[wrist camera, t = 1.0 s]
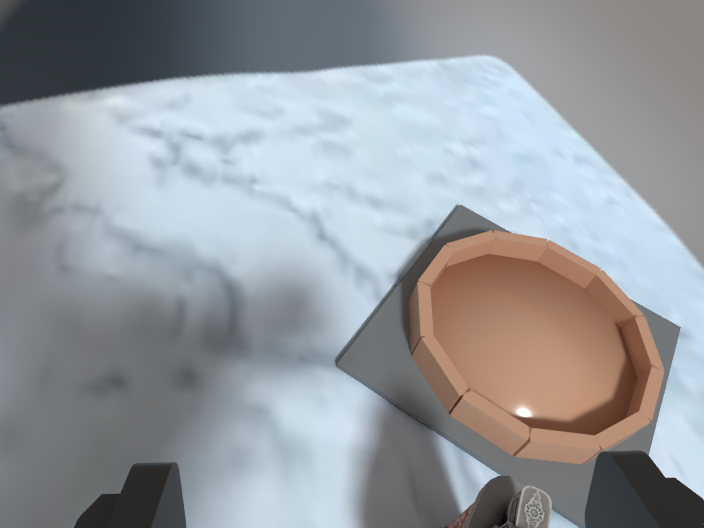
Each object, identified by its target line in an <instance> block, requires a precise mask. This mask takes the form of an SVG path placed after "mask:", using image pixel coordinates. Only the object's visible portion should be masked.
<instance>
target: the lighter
mask: <svg viewBox="0 0 704 528" xmlns="http://www.w3.org/2000/svg"><path fill="white" fill-rule="evenodd" d="M551 509H552V502H551V499H550V497H549V495H548V494H547V493H546V492H544V491H542V490H541V489H538V488H536V487H533V486H530V485H528V484H527V483H525V482H524V481H522V480H520V479H518V478H515V477H511V476H498V477H496V478H493V479H491V480H490V481H489V482H488V483H487V484H486V485H485V486H484V487H483V488H482V489H481V491H480V492H479V494H478V496H477V498H476V500H475V502H474V503H473V504H472V505H471V506H470V507H469V508H468V509H466V510H465V511H464V512H463V513H462V514H461V515H460V516H459V517H458V518H457V519H456V520H455V521H454V522H452V523H451V524H447V525H445V526H443V527H441V528H549V525H550V517H551Z"/></svg>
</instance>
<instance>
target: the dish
mask: <svg viewBox="0 0 704 528" xmlns="http://www.w3.org/2000/svg"><path fill="white" fill-rule="evenodd" d="M600 269H601V268H599V267H597V266H595V265H594V264H592V263H590V262H588V261H586V260H584V259H583V258H581V257H579V256H577V255H575V254H574V253H572V252H570V251H568V250H566V249H565V248H563V247H561V246H559V245H557V244H556V243H554V242H552V241H550V240H549V241H548V242H547V239H543V238H537V237H531V236H525V235H519V234H513V233H507V232H501V231H495V230H494V231H493V232H492V230H491V231H488V232H484V233H481V234H477V235H474V236H470V237H467V238H464V239H460V240H457V241H453V242H450V243H447V244H446V245H444V246H443V248H442V249H441V250H440V252H439V253H438V254H437V256H436V257H435V258H434V260H433V261H432V262H431V264H430V265H429V266H428V268H427V269H426V270H425V272H424V273H423V274H422V276H421V277H420V278H419V280H418V282H417V284H416V286H415V288H414V291H413V293H412V295H411V297H410V299H409V319H410V345H411V354H413V355H412V358H413V359H414V361H415V363H416V364H417V366H418V367H419V369H420V370H421V372H422V374H423V375H424V377H425V378H426V380H427V381H428V383H429V385H430V386H431V388H432V389H433V391H434V393H435V394H436V396H437V397H438V399H439V400H440V402H441V404H442V405H443V407H444V408H445V410H446V412H447V413H448V412H450V411H451V414H450V416H452V417H453V418H455V419H456V420H458V421H459V422H461V423H462V424H464V425H466V426H467V427H469V428H470V429H472V430H473V431H475V432H476V433H478V434H479V435H481V436H482V437H484V438H485V439H487V440H489V441H490V442H492V443H493V444H495V445H496V446H498V447H499V448H501V449H502V450H504V451H505V452H507V453H508V454H510V455H513V454H514V455H515V457H521V458H530V459H538V460H547V461H555V462H564V463H573V464H583V463H584V464H585V463H587V462H588V461H590V460H592V459H594V458H595V457H597V456H598V454H599V453H600V452H602V451H608V450H609V449H611V448H613V447H615V446H616V445H618V444H620V443H621V442H623V441H625V440H627V439H628V438H630V437H632V436H633V435H634V434H636V433H637V432H638V431H640V430H641V429H642V428H644V427H645V426H646V425H648V424H649V423H650V422H651V421H652V418H653V414H654V411H655V407H656V403H657V399H658V395H659V391H660V387H661V384H662V380H663V376H664V371H663V370H664V367H663V364H662V362H661V359H660V356H659V353H658V351H657V348H656V345H655V342H654V340H653V337H652V334H651V331H650V329H649V326H648V323H647V320H646V318H645V317H644V316H643V315H644V314H643V313H642V312H641V311H640V310H639V309H638V308H637V307H636V306H635V304H634V303H633V302H632V301H631V300H630V299H629V298H628V297H627V296H626V295H625V294H624V292H623V291H622V290H621V289H620V288H619V287H618V286H617V285H616V284H615V283H614V282H613V281H612V279H611V278H610V277H609V276H608V275H607V274H606V273H605V272H604V271H603V270H602V271H600Z"/></svg>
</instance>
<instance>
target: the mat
mask: <svg viewBox="0 0 704 528" xmlns="http://www.w3.org/2000/svg"><path fill="white" fill-rule="evenodd" d="M491 230H492V232H493V231H494V230H495V231H501V232H507V233H511V232H509V231H507V230H505V229H504V228H502V227H500V226H498V225H496V224H495V223H493V222H491V221H489V220H487V219H486V218H484V217H482V216H480V215H478V214H477V213H475V212H473V211H471V210H470V209H468V208H466V207H464V206H462V205H460V206H459V207H458V208H457V210H456V211H455V212H454V214H453V215H452V216H451V217H450V219H449V220H448V221H447V223H446V224H445V225H444V226H443V228H442V229H441V230H440V232H439V233H438V234H437V235H436V237H435V238H434V239H433V241H432V242H431V243H430V244H429V246H428V247H427V248H426V250H425V251H424V252H423V253H422V255H421V256H420V257H419V259H418V260H417V261H416V262H415V264H414V265H413V266H412V268H411V269H410V270H409V271H408V273H407V274H406V275H405V277H404V278H403V279H402V280H401V282H400V283H399V284H398V286H397V287H396V288H395V289H394V291H393V292H392V293H391V295H390V296H389V297H388V298H387V300H386V301H385V302H384V304H383V305H382V306H381V307H380V309H379V310H378V311H377V313H376V314H375V315H374V316H373V318H372V319H371V320H370V322H369V323H368V324H367V325H366V327H365V328H364V329H363V331H362V332H361V333H360V334H359V336H358V337H357V338H356V340H355V341H354V342H353V343H352V345H351V346H350V347H349V349H348V350H347V351H346V352H345V354H344V355H343V356H342V358H341V359H340V360H339V361H338V363H337V367H338V368H340V369H341V370H343V371H344V372H346V373H347V374H349V375H350V376H352V377H353V378H355V379H356V380H358V381H359V382H361V383H362V384H364V385H365V386H367V387H368V388H370V389H371V390H373V391H374V392H376V393H377V394H379V395H380V396H382V397H383V398H385V399H386V400H388V401H389V402H391V403H392V404H394V405H396V406H397V407H399V408H400V409H402V410H403V411H405V412H406V413H408V414H409V415H411V416H412V417H414V418H415V419H417V420H418V421H420V422H421V423H423V424H424V425H426V426H427V427H429V428H430V429H432V430H433V431H435V432H436V433H438V434H439V435H441V436H442V437H444V438H445V439H447V440H448V441H450V442H451V443H453V444H454V445H456V446H457V447H459V448H460V449H462V450H463V451H465V452H466V453H468V454H469V455H471V456H472V457H474V458H475V459H477V460H479V461H480V462H482V463H483V464H485V465H486V466H488V467H489V468H491V469H492V470H494V471H495V472H497V473H498V474H500V475H501V476H511V477H515V478H518V479H520V480H522V481H524V482H525V483H527V484H528V485H530V486H533V487H536V488H538V489H541V490H542V491H544V492H546V493H547V494H548V495H549V497H550V499H551V502H552V510H554V511H555V512H557V513H558V514H560V515H562V516H563V517H565V518H566V519H568V520H569V521H571V522H572V523H574V524H575V525H577V526H578V527H580V528H586V527H585V508H586V503H587V499H588V494H589V490H590V485H591V481H592V476H593V472H594V467H595V463H596V459H597V457H595V458H594V459H592V460H590V461H588V462H587V463H585V464H584V463H583V464H573V463H564V462H555V461H547V460H538V459H530V458H521V457H515V455H514V454H513V455H510V454H508V453H507V452H505V451H504V450H502V449H501V448H499V447H498V446H496V445H495V444H493V443H492V442H490V441H489V440H487V439H485V438H484V437H482V436H481V435H479V434H478V433H476V432H475V431H473V430H472V429H470V428H469V427H467V426H466V425H464V424H462V423H461V422H459V421H458V420H456V419H455V418H453V417H452V416H450V414H451V411H450V412H448V413H447V412H446V410H445V408H444V407H443V405H442V404H441V402H440V400H439V399H438V397H437V396H436V394H435V393H434V391H433V389H432V388H431V386H430V385H429V383H428V381H427V380H426V378H425V377H424V375H423V374H422V372H421V370H420V369H419V367H418V366H417V364H416V363H415V361H414V359H413V358H412V355H413V354H411V345H410V319H409V299H410V297H411V295H412V293H413V291H414V288H415V286H416V284H417V282H418V280H419V278H420V277H421V276H422V274H423V273H424V272H425V270H426V269H427V268H428V266H429V265H430V264H431V262H432V261H433V260H434V258H435V257H436V256H437V254H438V253H439V252H440V250H441V249H442V248H443V246H444V245H446V244H447V243H450V242H453V241H457V240H460V239H464V238H467V237H470V236H474V235H477V234H481V233H484V232H488V231H491ZM630 300H631V299H630ZM631 301H632V302H633V303H634V304H635V306H636V307H637V308H638V309H639V310H640V311H641V312H642V313H643V314H644V315H643V316H644V317H645V318H646V320H647V323H648V326H649V329H650V331H651V334H652V337H653V340H654V342H655V345H656V348H657V351H658V353H659V356H660V359H661V362H662V364H663V367H664V370H663V371H664V376H663V380H662V384H661V387H660V391H659V395H658V399H657V403H656V407H655V411H654V414H653V418H652V421H651V422H650V423H649V424H648V425H646V426H645V427H644V428H642V429H641V430H640V431H638V432H637V433H636V434H634V435H633V436H632V437H630V438H628V439H627V440H625V441H623V442H621V443H620V444H618V445H616V446H615V447H613V448H611V449H609V450H608V451H630V450H641V451H643V452H645V453H646V454H647V455H649V451H650V447H651V443H652V439H653V435H654V431H655V427H656V423H657V419H658V415H659V411H660V407H661V403H662V399H663V395H664V391H665V388H666V384H667V380H668V376H669V372H670V368H671V364H672V360H673V356H674V352H675V348H676V344H677V340H678V336H679V332H680V328H681V327H679V326H677V325H676V324H674V323H672V322H670V321H668V320H667V319H665V318H663V317H661V316H659V315H658V314H656V313H654V312H652V311H651V310H649V309H647V308H645V307H643V306H642V305H640V304H638V303H636V302H634V301H633V300H631Z"/></svg>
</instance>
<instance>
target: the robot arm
mask: <svg viewBox="0 0 704 528" xmlns="http://www.w3.org/2000/svg"><path fill="white" fill-rule="evenodd" d="M585 527H586V528H704V500H703V499H702V498H701V497H700V496H699V495H697V494H696V493H695V492H693V491H692V490H691V489H689V488H688V487H687V486H685V485H684V484H682V483H681V482H680V481H678V480H677V479H676V478H665V477H664V475H663V474H662V473H661V471H660V470H659V469H658V467H657V466H656V465H655V463H654V462H653V461H652V459H651V458H650V457H649V456H648V455H647V454H646V453H645V452H643V451H641V450H630V451H602V452H600V453H599V454H598V456H597V459H596V463H595V467H594V472H593V476H592V481H591V485H590V490H589V494H588V499H587V503H586V508H585ZM74 528H186V519H185V512H184V504H183V497H182V489H181V481H180V474H179V468H178V465H177V463H175V462H171V463H136V464H134V465H133V466H132V468H131V470H130V472H129V474H128V477H127V479H126V482H125V484H124V487H123V489H122V491H121V494H102V495H101V496H100V497H99V498H98V499H97V500H96V501H95V502H94V503H93V504H92V505H91V506H90V507H89V508H88V509H87V510H86V511H85V512H84V513H83V514H82V515H81V516H80V517H79V519H78V521H77V523H76V525H75V527H74Z"/></svg>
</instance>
